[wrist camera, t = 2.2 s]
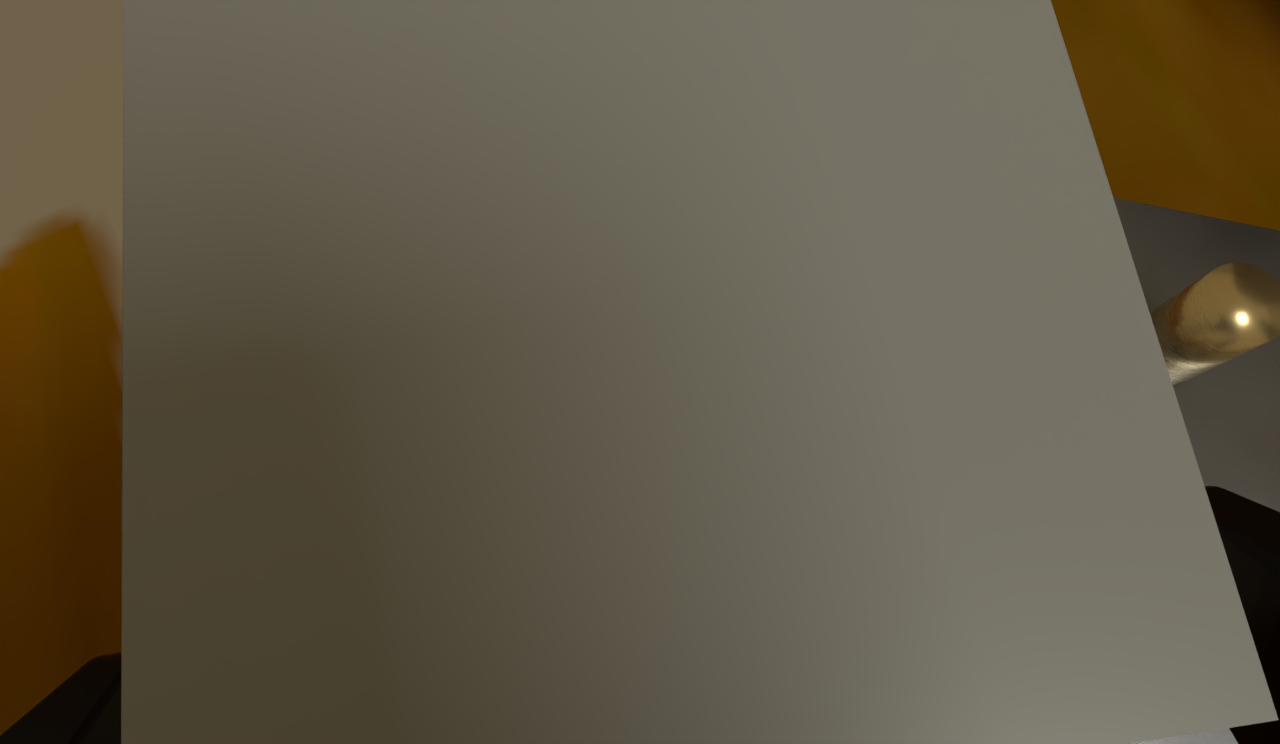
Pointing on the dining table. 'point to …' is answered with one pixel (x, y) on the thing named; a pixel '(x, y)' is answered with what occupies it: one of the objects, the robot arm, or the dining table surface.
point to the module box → (646, 385)
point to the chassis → (1216, 347)
